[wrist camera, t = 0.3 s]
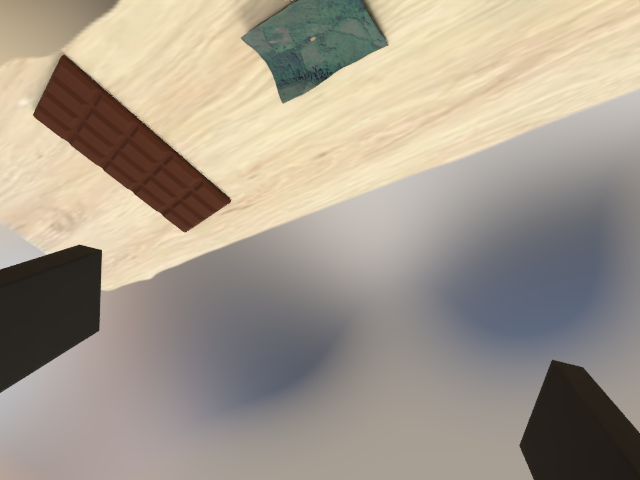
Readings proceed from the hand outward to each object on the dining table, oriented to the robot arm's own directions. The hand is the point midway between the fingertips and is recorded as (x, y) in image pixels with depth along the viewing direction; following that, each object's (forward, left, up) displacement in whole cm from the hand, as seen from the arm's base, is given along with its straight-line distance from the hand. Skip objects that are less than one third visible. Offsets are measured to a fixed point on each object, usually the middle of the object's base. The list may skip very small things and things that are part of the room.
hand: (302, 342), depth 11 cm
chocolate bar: (+7, -43, -35) cm, 56 cm away
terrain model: (+1, -10, -35) cm, 36 cm away
